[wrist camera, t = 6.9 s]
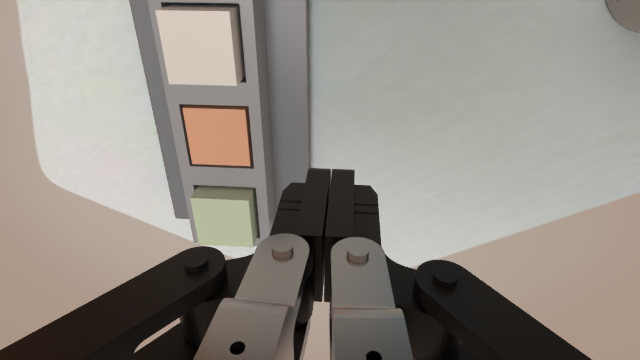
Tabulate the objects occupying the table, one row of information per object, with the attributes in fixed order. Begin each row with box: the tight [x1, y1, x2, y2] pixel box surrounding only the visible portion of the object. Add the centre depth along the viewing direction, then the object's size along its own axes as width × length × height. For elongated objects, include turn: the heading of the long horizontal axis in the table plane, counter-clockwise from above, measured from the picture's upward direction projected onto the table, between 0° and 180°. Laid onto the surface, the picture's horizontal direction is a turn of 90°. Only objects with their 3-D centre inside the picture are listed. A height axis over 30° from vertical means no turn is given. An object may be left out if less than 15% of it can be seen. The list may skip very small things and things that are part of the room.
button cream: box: [155, 4, 246, 86], centre depth 32 cm, size 5×5×3 cm
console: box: [129, 0, 310, 246], centre depth 39 cm, size 15×24×6 cm, turn 0°
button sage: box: [190, 185, 259, 247], centre depth 40 cm, size 5×5×3 cm
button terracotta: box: [183, 104, 253, 166], centre depth 38 cm, size 5×5×3 cm
